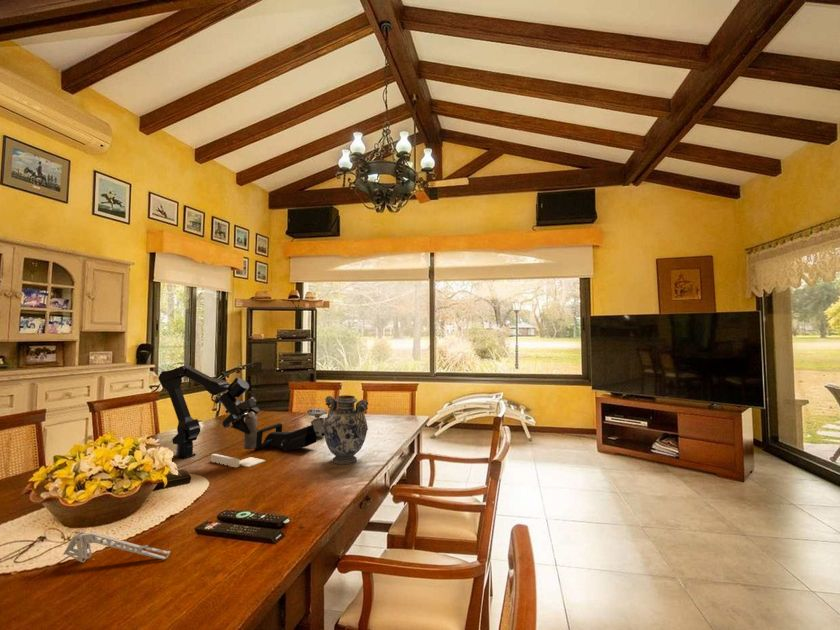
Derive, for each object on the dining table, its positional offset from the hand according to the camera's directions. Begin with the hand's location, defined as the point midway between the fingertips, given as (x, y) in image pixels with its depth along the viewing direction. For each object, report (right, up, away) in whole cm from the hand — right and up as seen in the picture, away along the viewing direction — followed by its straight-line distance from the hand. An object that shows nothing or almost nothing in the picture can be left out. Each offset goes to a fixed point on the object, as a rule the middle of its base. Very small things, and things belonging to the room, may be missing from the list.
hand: (253, 432), depth 173 cm
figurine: (+15, -15, +44) cm, 49 cm away
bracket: (-2, -10, -74) cm, 75 cm away
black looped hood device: (+7, -14, +22) cm, 27 cm away
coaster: (-2, -13, 0) cm, 13 cm away
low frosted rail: (-11, -12, -3) cm, 17 cm away
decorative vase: (+38, -14, +5) cm, 41 cm away
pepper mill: (-2, -7, 0) cm, 7 cm away
